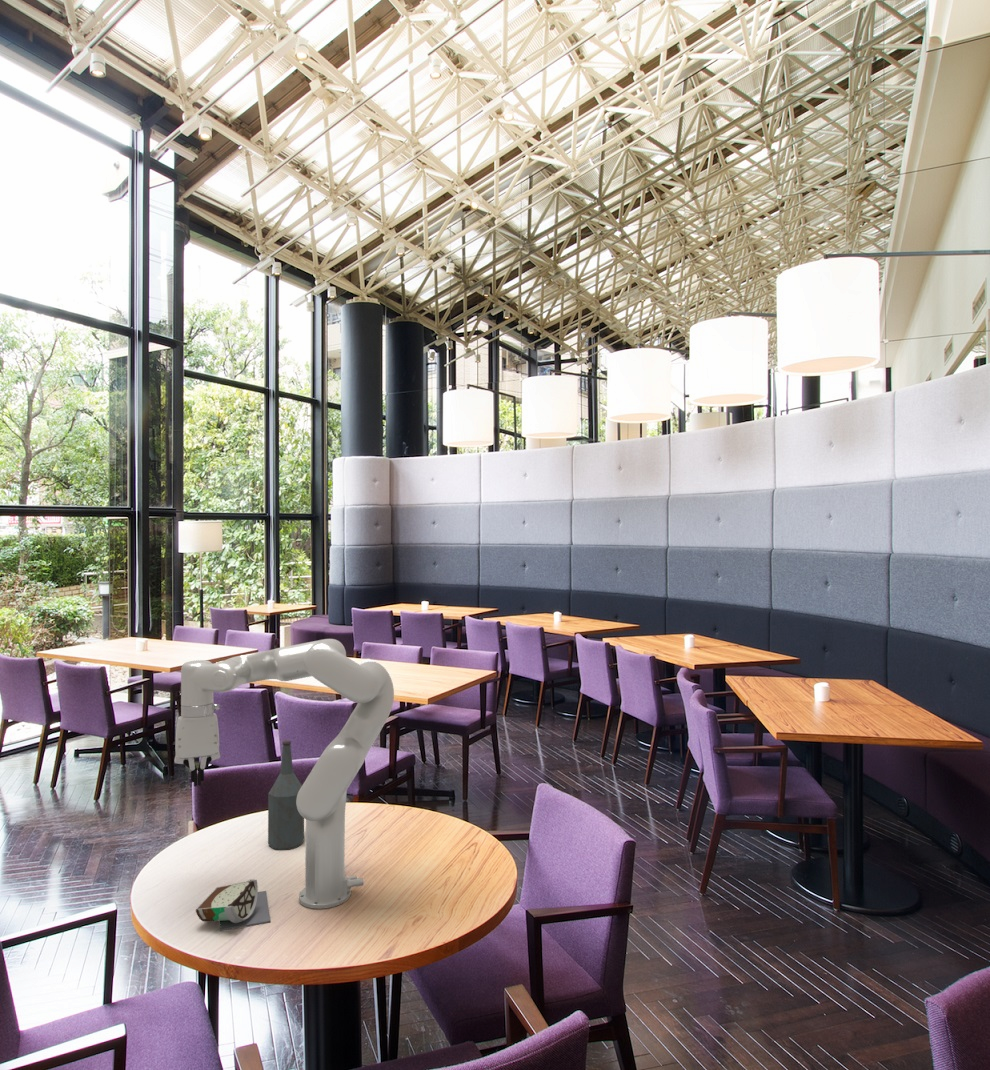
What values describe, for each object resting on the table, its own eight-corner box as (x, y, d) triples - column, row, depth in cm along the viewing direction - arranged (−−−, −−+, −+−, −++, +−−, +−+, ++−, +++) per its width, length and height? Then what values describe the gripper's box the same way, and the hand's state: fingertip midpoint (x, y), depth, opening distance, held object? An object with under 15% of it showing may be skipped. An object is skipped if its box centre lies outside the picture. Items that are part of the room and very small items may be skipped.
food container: (198, 939, 166) (238, 933, 164) (191, 913, 165) (232, 907, 164) (225, 908, 178) (263, 902, 176) (219, 884, 178) (257, 878, 176)
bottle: (262, 842, 216) (263, 740, 217) (293, 834, 223) (293, 734, 223) (278, 853, 208) (279, 747, 209) (309, 844, 215) (310, 741, 215)
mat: (266, 892, 185) (266, 890, 185) (270, 922, 170) (270, 920, 170) (219, 899, 181) (219, 898, 181) (219, 931, 166) (219, 929, 166)
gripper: (228, 705, 190) (228, 776, 189) (165, 710, 184) (165, 784, 183) (230, 710, 183) (230, 785, 182) (164, 716, 177) (164, 793, 176)
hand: (197, 784), depth 183 cm, fingers closed
